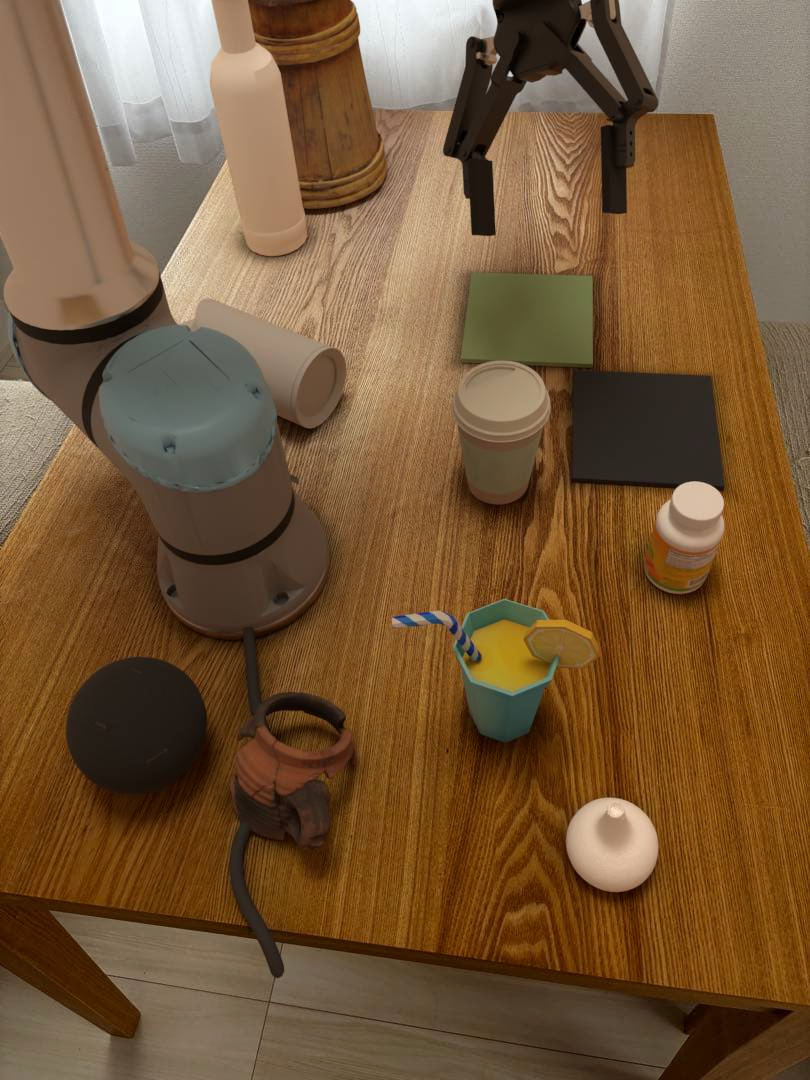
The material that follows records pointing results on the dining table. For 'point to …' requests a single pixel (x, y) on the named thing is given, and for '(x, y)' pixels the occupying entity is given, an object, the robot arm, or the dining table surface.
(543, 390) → the coffee cup
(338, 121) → the tankard
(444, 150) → the robot arm
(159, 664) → the speaker
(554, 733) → the dining table surface
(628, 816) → the garlic bulb
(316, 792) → the broken clay pot
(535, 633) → the cup
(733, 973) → the dining table surface
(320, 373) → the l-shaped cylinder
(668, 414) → the charcoal mat
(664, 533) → the supplement bottle
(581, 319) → the sage mat
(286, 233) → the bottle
